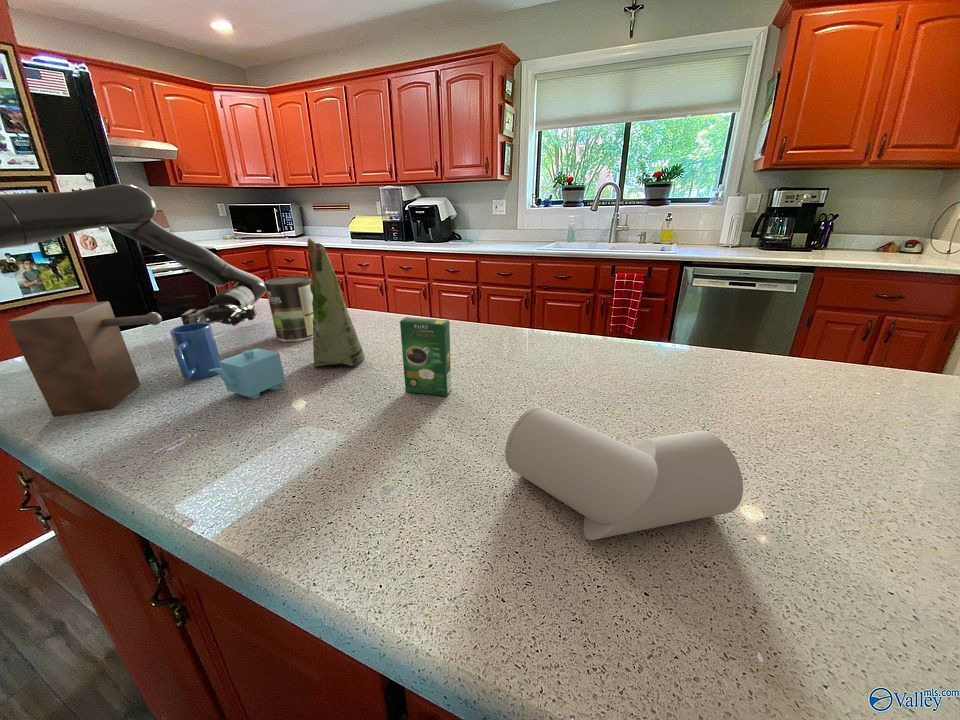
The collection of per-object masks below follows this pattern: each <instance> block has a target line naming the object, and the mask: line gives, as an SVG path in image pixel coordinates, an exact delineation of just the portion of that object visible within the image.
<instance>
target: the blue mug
mask: <svg viewBox="0 0 960 720" xmlns="http://www.w3.org/2000/svg"><path fill="white" fill-rule="evenodd" d="M169 334H170V336H171V339H172V342H173V345H174V348H173V352H174V355H175V358H176V361H177V364H178V367H179V370H180V373H181V377H182V379H183V380H184V381H189V380H203V379H208V378H212V377H214V376H217V375H219V374H218V373H216V372H213V371H209V370H210V369H213V368H220V365H219V361H222V359H221V356H220V353H219V350H218V346H217V343H216V339H215V336H214V332H213V329H212V326H211V324H209V323H192V324H186V325H183V324H182V325H178V326H176V327H172V328H171V329H169Z"/></svg>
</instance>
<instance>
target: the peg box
mask: <svg viewBox="0 0 960 720" xmlns="http://www.w3.org/2000/svg"><path fill="white" fill-rule="evenodd" d="M162 320H163V317H162V315H160V313H158V312H153V311H152V312H151V311H150V312H149V313H147V314H143V315H133V316H132V315H131V316H121V317H116V316H115V312H114V311H113V308H112V306H111V303H110V301H107V300H106V301H94V302H81V303H68V304H67V303H65V304H52V305H49V306H46V307H44V308H40V309H38V310H35V311H33V312H30V313H27V314H24V315H21V316H17V317H16V318H13V319H10V320H7V321H6V324H7V326H8V328H9V329H10V331H11V334H12V336H13V338H14V340H15V342H16V344H17V346H18V348H19V350H20V351H21V354H22V356H23V357H24V360H25V362H26V364H27V366H28V369H29V370H30V373H31V374H32V377H33V378H34V380H35V382H36V385H37V386H38V389H39V391H40V393H41V394H42V397H43V399H44V400H45V403H46V405H47V407H48V408H49V411H50V413H51V415H52V417H59V416H65V415H66V416H67V415H74V414H81V413H82V414H83V413H90V412H98V411H104V410H112V409H113V408H115V407H116V406H117V405H119V403H121V401H123V400H124V399H125V398H126V397H127V396H128V395H130V394H131V393H132V392H134V390H136V389H137V388H138V387H139V386H140V385H141V381H140V379H139V376H138V373H137V371H136V368H135V366H134V363H133V360H132V358H131V355H130V353H129V350H128V347H127V344H126V342H125V339H124V336H123V334H122V332H121V329H120V327H121V326H133V325H145V324H148V325H152V326H157V325H160V324H161V323H162Z"/></svg>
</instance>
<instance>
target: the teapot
mask: <svg viewBox="0 0 960 720" xmlns="http://www.w3.org/2000/svg"><path fill="white" fill-rule="evenodd" d="M219 365H220V368H213V369H210V370H209V371H213V372H216V373H218V374H217V375H219V377H220V379H221V380H222V381H223V382H224V385H225V389H226V391H228V392H230V393H234V394H237V395H240V396H244V397H247V398H250V399H252V400H253V399H258V398H260V396H261V393H262V392H264V391H266V390H270V391H274V390H277V389H279V386H278V385H279V384H282V383H284V382H286V377H285V374H284V369H283V364H282V359H281V355H280V353H279V352H276V351H275V350H267V349H262V348H258V347H256V348H253V349H248V350H244V351H243V352H242V353H239V354H236V355H233V356H230V357H228V358H225V359H221V361H219Z"/></svg>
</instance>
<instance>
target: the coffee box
mask: <svg viewBox="0 0 960 720" xmlns="http://www.w3.org/2000/svg"><path fill="white" fill-rule="evenodd" d="M399 325H400V326H399V327H400V340H401V353H402V365H403V375H404V389H405V392H406V393H412V394H422V395H423V394H424V395H432V396H439V397H441V396H443V397H448V396H449V394H450V393H451V391H452V369H451V368H452V367H451V331H450V329H451V327H450V320H449V319H434V318H422V317H421V318H420V317H411V316H410V317H409V316H405V317H404V318H402V319H401V320H400V321H399Z"/></svg>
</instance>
